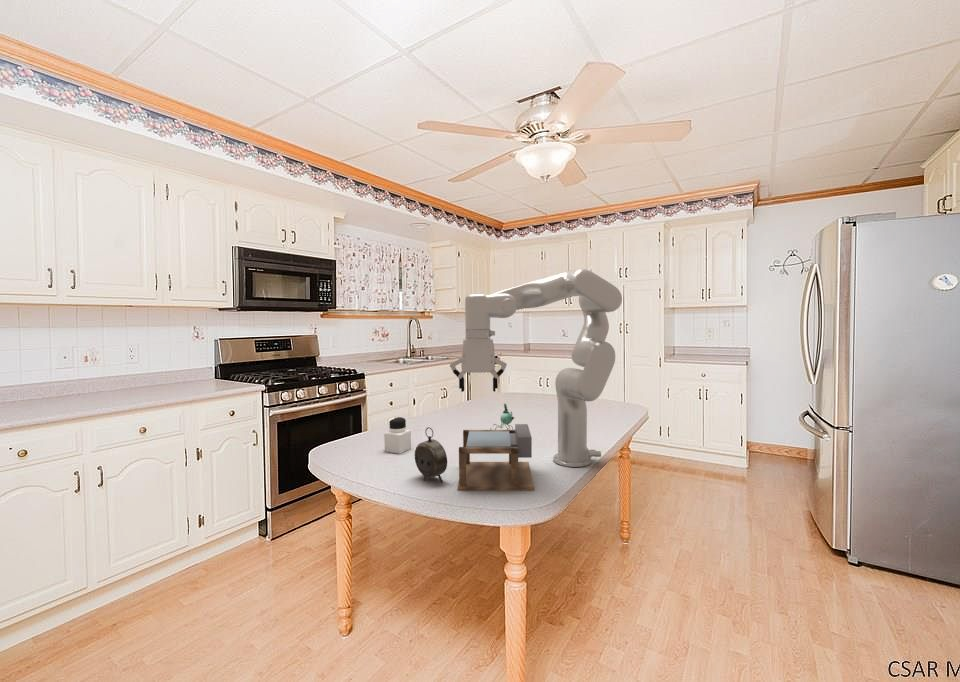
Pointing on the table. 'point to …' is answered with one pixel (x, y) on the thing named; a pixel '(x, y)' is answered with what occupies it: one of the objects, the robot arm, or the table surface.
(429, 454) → the alarm clock
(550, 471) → the table surface
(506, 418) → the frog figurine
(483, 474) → the frame
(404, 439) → the medicine bottle
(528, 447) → the trapdoor
